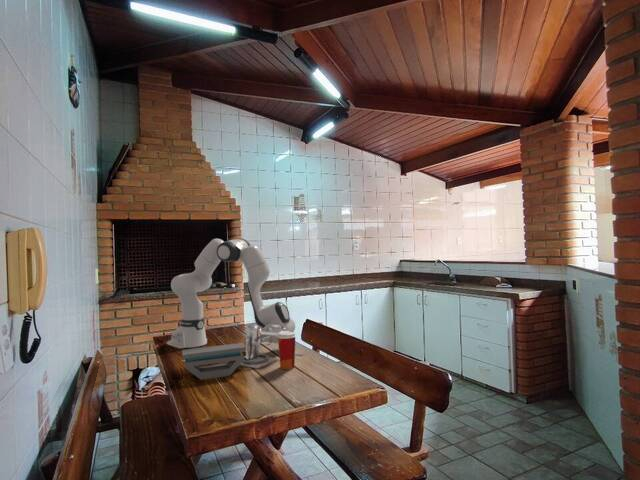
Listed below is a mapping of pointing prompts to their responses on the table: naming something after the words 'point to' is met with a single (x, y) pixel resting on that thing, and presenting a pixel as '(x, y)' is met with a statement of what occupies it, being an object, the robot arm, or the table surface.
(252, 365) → the pale board
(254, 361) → the steel ring collar
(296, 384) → the table surface
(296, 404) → the table surface
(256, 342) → the steel tumbler
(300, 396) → the table surface
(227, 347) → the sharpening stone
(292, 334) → the coffee cup
